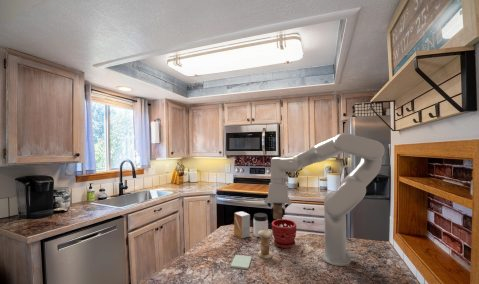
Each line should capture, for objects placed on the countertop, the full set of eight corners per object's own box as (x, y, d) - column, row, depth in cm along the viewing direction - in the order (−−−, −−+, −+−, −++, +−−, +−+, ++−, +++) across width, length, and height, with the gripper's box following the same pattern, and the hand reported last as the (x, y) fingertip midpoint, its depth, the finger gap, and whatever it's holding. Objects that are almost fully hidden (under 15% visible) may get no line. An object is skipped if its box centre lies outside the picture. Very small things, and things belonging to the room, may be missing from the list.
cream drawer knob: (272, 252, 111) (272, 230, 111) (271, 259, 104) (271, 236, 104) (258, 251, 112) (258, 229, 112) (257, 258, 105) (257, 234, 106)
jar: (251, 236, 131) (251, 216, 131) (255, 231, 139) (254, 212, 139) (266, 238, 128) (266, 217, 128) (269, 233, 136) (269, 213, 136)
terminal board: (251, 258, 105) (251, 256, 105) (248, 269, 96) (248, 267, 96) (235, 256, 107) (235, 254, 107) (230, 267, 97) (230, 265, 97)
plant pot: (273, 238, 128) (273, 217, 128) (296, 241, 124) (296, 219, 125) (270, 248, 115) (270, 225, 116) (296, 251, 112) (296, 228, 112)
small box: (233, 234, 134) (233, 212, 135) (242, 231, 138) (242, 211, 138) (241, 238, 128) (241, 216, 128) (250, 236, 131) (250, 214, 132)
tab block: (282, 216, 116) (282, 201, 116) (282, 219, 112) (282, 203, 112) (273, 215, 117) (273, 200, 117) (273, 218, 113) (273, 203, 113)
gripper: (294, 180, 117) (294, 215, 117) (262, 179, 120) (262, 213, 120) (295, 182, 110) (294, 219, 109) (261, 181, 113) (260, 217, 112)
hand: (277, 215), depth 114 cm, fingers closed on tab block, 4 cm apart
